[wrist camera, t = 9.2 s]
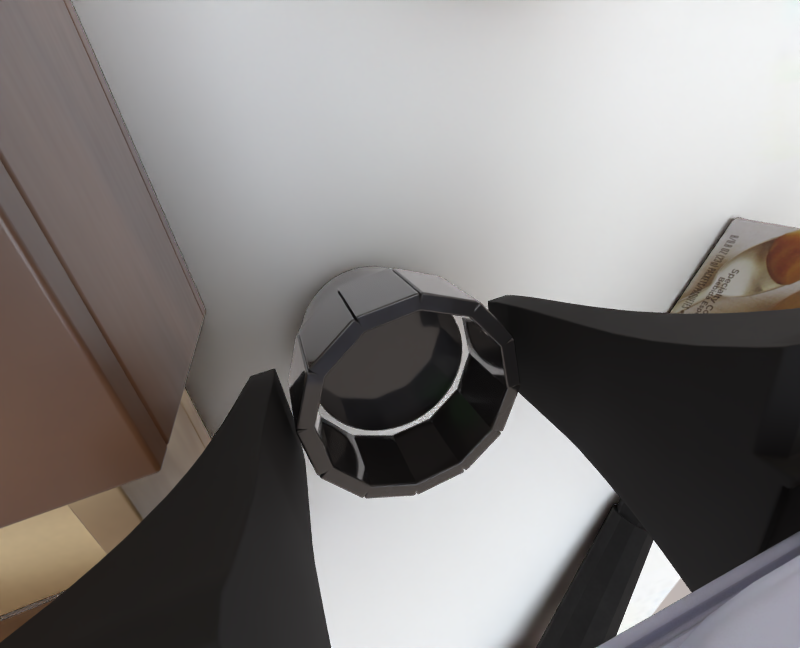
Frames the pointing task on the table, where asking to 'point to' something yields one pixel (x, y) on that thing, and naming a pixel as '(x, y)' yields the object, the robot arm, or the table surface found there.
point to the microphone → (601, 584)
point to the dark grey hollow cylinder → (398, 380)
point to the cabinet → (80, 278)
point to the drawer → (87, 527)
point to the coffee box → (747, 271)
